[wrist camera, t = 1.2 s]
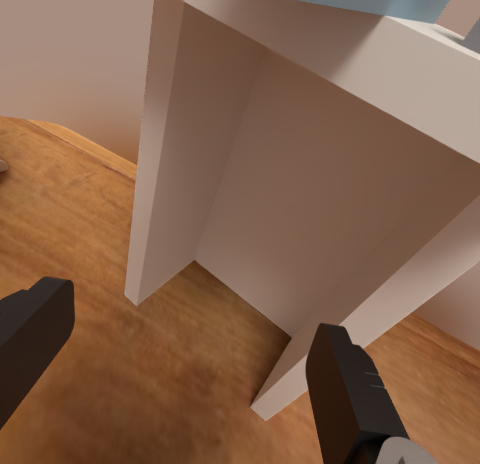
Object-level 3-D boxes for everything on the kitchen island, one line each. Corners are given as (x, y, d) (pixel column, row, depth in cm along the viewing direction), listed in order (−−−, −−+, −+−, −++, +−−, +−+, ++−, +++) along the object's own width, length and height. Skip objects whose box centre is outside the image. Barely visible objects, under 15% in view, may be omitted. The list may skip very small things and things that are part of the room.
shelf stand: (93, 318, 32) (82, -126, 11) (192, 244, 44) (282, -47, 22) (244, 460, 28) (728, 176, 6) (311, 337, 39) (568, 84, 18)
